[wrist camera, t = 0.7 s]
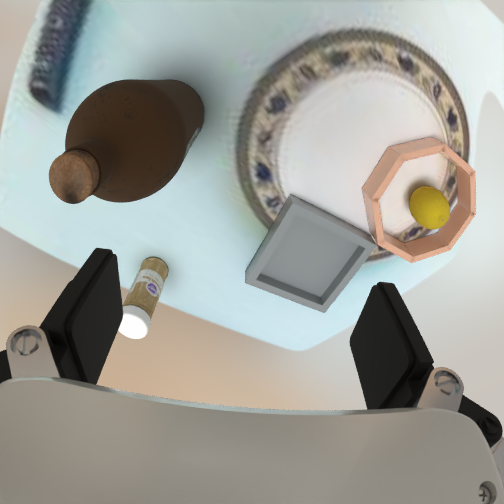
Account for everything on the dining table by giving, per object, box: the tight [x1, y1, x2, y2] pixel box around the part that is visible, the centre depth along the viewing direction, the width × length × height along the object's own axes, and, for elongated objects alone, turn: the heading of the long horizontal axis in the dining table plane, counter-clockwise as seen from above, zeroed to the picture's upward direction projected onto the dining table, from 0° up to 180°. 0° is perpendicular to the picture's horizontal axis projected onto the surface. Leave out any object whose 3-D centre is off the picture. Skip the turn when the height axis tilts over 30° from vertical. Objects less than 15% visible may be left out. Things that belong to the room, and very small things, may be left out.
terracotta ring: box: [362, 137, 476, 263], centre depth 41 cm, size 17×17×4 cm
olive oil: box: [49, 80, 204, 204], centre depth 27 cm, size 11×11×25 cm
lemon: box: [409, 186, 450, 229], centre depth 40 cm, size 6×6×8 cm
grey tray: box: [245, 194, 376, 313], centre depth 47 cm, size 14×14×3 cm
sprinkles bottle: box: [118, 257, 168, 339], centre depth 44 cm, size 5×5×13 cm
